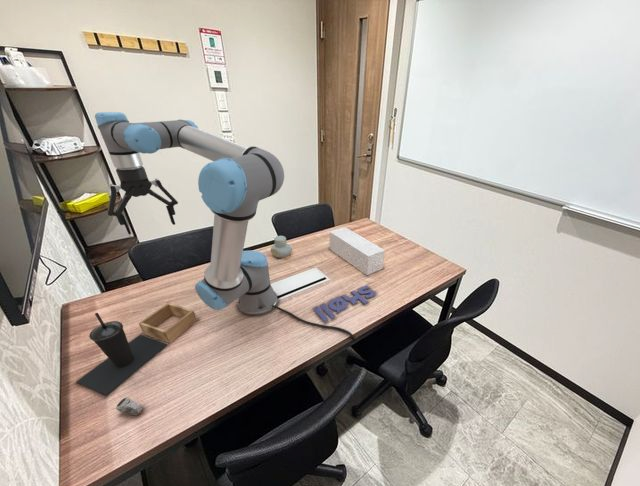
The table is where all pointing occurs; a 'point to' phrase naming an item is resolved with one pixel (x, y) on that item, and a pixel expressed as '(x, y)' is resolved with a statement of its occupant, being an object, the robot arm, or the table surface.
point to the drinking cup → (112, 342)
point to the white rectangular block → (357, 250)
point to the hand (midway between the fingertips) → (152, 227)
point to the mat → (111, 376)
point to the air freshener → (281, 247)
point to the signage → (343, 302)
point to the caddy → (160, 315)
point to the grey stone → (128, 402)
